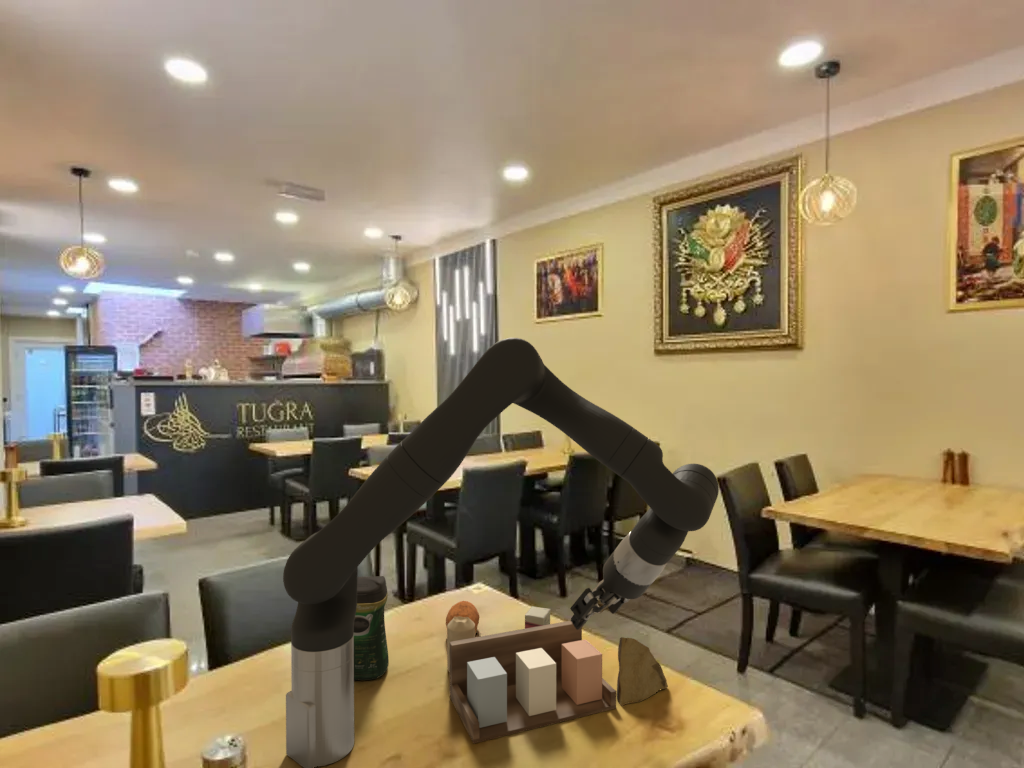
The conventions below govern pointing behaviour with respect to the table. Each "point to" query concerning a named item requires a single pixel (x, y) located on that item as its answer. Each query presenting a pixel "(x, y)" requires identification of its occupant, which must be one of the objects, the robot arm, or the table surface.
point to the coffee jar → (370, 629)
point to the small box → (537, 617)
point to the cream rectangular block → (535, 681)
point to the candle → (459, 632)
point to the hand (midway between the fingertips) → (593, 616)
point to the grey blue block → (487, 691)
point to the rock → (637, 672)
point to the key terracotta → (581, 671)
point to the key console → (505, 653)
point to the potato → (463, 612)
